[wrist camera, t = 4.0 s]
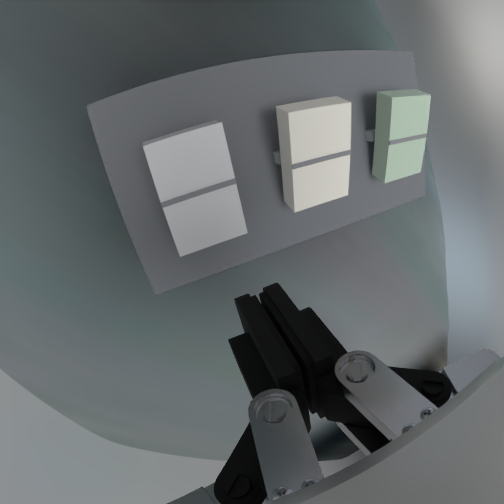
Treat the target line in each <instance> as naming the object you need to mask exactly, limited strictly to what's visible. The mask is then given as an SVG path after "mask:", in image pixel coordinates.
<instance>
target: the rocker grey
mask: <svg viewBox="0 0 504 504" xmlns="http://www.w3.org/2000/svg"><path fill="white" fill-rule="evenodd" d="M143 149H144V152H145V155H146V158H147V162H148V165H149V168H150V171H151V174H152V177H153V181H154V184H155V187H156V190H157V193H158V196H159V199H160V202H161V205H162V208H163V211H164V213H165V216H166V219H167V222H168V225H169V228H170V231H171V233H172V236H173V239H174V242H175V245H176V247H177V250H178V253H179V255H180V257H182V256H184V255H187V254H190V253H193V252H196V251H198V250H201V249H204V248H207V247H210V246H213V245H215V244H218V243H221V242H224V241H227V240H230V239H232V238H235V237H238V236H241V235H244V234H247V233H248V232H247V228H246V223H245V219H244V215H243V210H242V206H241V202H240V198H239V193H238V189H237V185H236V184H237V183H236V179H235V176H234V172H233V167H232V163H231V159H230V154H229V150H228V146H227V141H226V137H225V133H224V129H223V124H222V122H220V121H216V120H215V121H211V122H207V123H204V124H200V125H196V126H193V127H190V128H186V129H183V130H180V131H176V132H173V133H170V134H167V135H164V136H161V137H158V138H155V139H152V140H149V141H146V142H143Z"/></svg>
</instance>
